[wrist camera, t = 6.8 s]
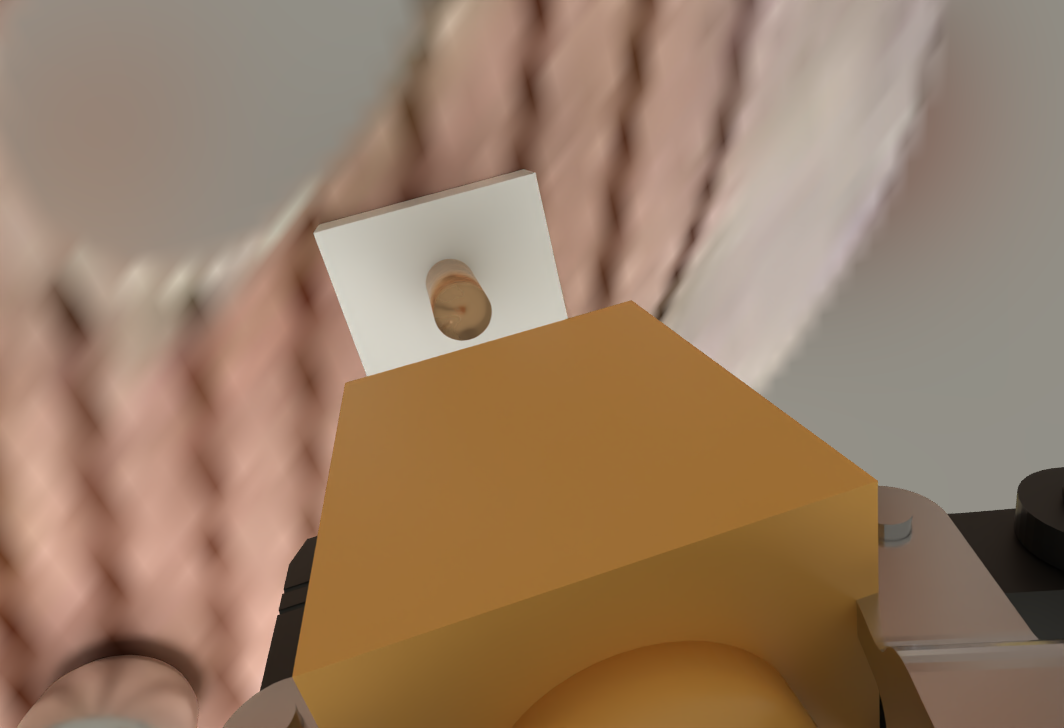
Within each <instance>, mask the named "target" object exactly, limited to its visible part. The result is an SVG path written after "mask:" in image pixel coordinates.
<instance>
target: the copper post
mask: <svg viewBox="0 0 1064 728" xmlns="http://www.w3.org/2000/svg"><path fill="white" fill-rule="evenodd" d="M426 289H427V292H428V296H429V300H430V304H431V308H432V312H433V315H434V319H435V322H436V325H437V327H438V328H439V330H440V331H441V332H442V333H443V334H444V335H446V336H447V337H449V338H451V339H454V340H460V341H464V340H470V339H473V338H475V337H477V336H479V335H480V334H482V333H483V332H484V331H485V330H486V328H487V327H488V325H489V323H490V320H491V316H492V308H491V304H490V301H489V299H488V297H487V296H486V294H485V292H484V291H483V289H482V287H481V286H480V284H479V282H478V281H477V279H476V277H475V276H474V274H473V272H472V271H471V269H470V268H469V267H468V266H467V265H466V264H465V263H463V262H462V261H459V260H456V259H445V260H442V261H439V262H438V263H436V264H435V265H434V266H433V267H432V268H431V269H430V270H429V272H428V274H427V277H426Z"/></svg>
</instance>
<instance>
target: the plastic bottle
mask: <svg viewBox="0 0 1064 728" xmlns="http://www.w3.org/2000/svg"><path fill="white" fill-rule="evenodd" d="M198 711H199V709H198V700H197V698H196V695H195V693H194V691H193V689H192V687H191V686H190V684H189V682H188V681H187V680H186V678H185V677H184V676H183V674H182V673H181V672H179V671H178V670H177V669H176V668H174V667H173V666H171V665H169V664H167V663H165V662H164V661H161V660H158V659H155V658H151V657H146V656H140V655H119V656H110V657H106V658H102V659H98V660H95V661H93V662H90V663H88V664H85V665H83V666H81V667H79V668H77V669H75V670H73V671H71V672H69V673H67V674H66V675H64V676H62V677H61V678H59V679H58V680H57V681H56V682H54V683H53V684H52V685H51V686H50V687H49V688H48V689H47V690H46V691H45V692H44V694H43V695H42V696H41V697H40V698H39V699H38V701H37V702H36V703H35V704H34V705H33V707H32V708H31V709H30V710H29V711H28V712H27V714H26V715H25V716H24V718H23V719H22V720H21V722H20V723H19V725H18V727H17V728H197V722H198Z"/></svg>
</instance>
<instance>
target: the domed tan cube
mask: <svg viewBox="0 0 1064 728" xmlns="http://www.w3.org/2000/svg"><path fill="white" fill-rule="evenodd" d="M878 592H879V583H878V481H877V480H876V479H874V478H873V477H872V476H870V475H869V474H868V473H866V472H865V471H863V470H862V469H861V468H859V467H858V466H857V465H855V464H854V463H853V462H851V461H850V460H848V459H847V458H846V457H844V456H843V455H842V454H840V453H839V452H837V451H836V450H835V449H834V448H832V447H831V446H829V445H828V444H827V443H825V442H824V441H823V440H821V439H820V438H819V437H817V436H816V435H814V434H813V433H812V432H810V431H809V430H808V429H806V428H805V427H803V426H802V425H801V424H799V423H798V422H797V421H795V420H794V419H793V418H791V417H790V416H789V415H787V414H786V413H784V412H783V411H782V410H780V409H779V408H778V407H776V406H775V405H774V404H772V403H771V402H769V401H768V400H767V399H765V398H764V397H763V396H761V395H760V394H759V393H757V392H756V391H754V390H753V389H752V388H750V387H749V386H748V385H746V384H745V383H744V382H742V381H741V380H739V379H738V378H737V377H735V376H734V375H733V374H731V373H730V372H729V371H727V370H726V369H724V368H723V367H722V366H720V365H719V364H718V363H716V362H715V361H713V360H712V359H711V358H709V357H708V356H707V355H705V354H704V353H703V352H701V351H700V350H698V349H697V348H696V347H694V346H693V345H692V344H690V343H689V342H688V341H686V340H685V339H683V338H682V337H681V336H679V335H678V334H677V333H675V332H674V331H673V330H671V329H670V328H668V327H667V326H666V325H664V324H663V323H662V322H660V321H659V320H658V319H656V318H655V317H653V316H652V315H651V314H649V313H648V312H647V311H645V310H644V309H643V308H641V307H640V306H638V305H637V304H636V303H634V302H633V301H632V300H631V301H627V302H624V303H620V304H617V305H613V306H610V307H607V308H603V309H600V310H596V311H593V312H589V313H586V314H582V315H579V316H575V317H572V318H568V319H565V320H561V321H558V322H555V323H551V324H548V325H544V326H541V327H537V328H534V329H530V330H527V331H523V332H520V333H516V334H513V335H509V336H506V337H503V338H499V339H496V340H492V341H489V342H485V343H482V344H478V345H475V346H471V347H468V348H464V349H461V350H457V351H454V352H451V353H447V354H444V355H440V356H437V357H433V358H430V359H426V360H423V361H419V362H416V363H412V364H409V365H405V366H402V367H399V368H395V369H392V370H388V371H385V372H381V373H378V374H374V375H371V376H367V377H364V378H360V379H357V380H353V381H350V382H347V383H345V387H344V393H343V398H342V404H341V409H340V415H339V421H338V426H337V432H336V437H335V443H334V448H333V454H332V459H331V465H330V470H329V476H328V481H327V487H326V492H325V498H324V504H323V509H322V515H321V520H320V526H319V531H318V537H317V542H316V548H315V553H314V559H313V564H312V570H311V575H310V581H309V587H308V592H307V598H306V603H305V609H304V614H303V620H302V625H301V631H300V636H299V642H298V647H297V653H296V658H295V664H294V670H293V675H292V678H293V680H294V682H295V684H296V686H297V688H298V690H299V691H300V693H301V695H302V697H303V699H304V701H305V703H306V705H307V707H308V709H309V710H310V712H311V714H312V716H313V718H314V720H315V722H316V724H317V726H318V728H880V711H879V690H878V686H877V683H876V680H875V678H874V675H873V673H872V670H871V668H870V665H869V663H868V660H867V658H866V656H865V653H864V651H863V648H862V646H861V643H860V641H859V638H858V636H857V603H856V600H858V599H861V598H864V597H867V596H870V595H872V594H875V593H878Z"/></svg>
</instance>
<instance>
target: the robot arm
mask: <svg viewBox="0 0 1064 728" xmlns="http://www.w3.org/2000/svg"><path fill="white" fill-rule="evenodd" d="M317 537H318V536H316V537H313V538H310V539H307V540H306V542H305V543H304V544H303V546H302V547H301V549H300V550H299V552H298V553H297V554H296V556H295V557H294V559H293V560H292V561H291V563H290V564H289V568H288V572H287V577H286V581H285V585H284V594H282V598H281V603H280V607H279V612H280V615H278V616H277V620H276V624H275V628H274V633H273V637H272V641H271V646H270V650H269V654H268V659H267V663H266V667H265V672H264V676H263V680H262V685H261V689H260V692H258V693H257V694H255V695H254V696H253V697H251V698H250V699H249V700H248V701H246V702H245V703H244V704H243V705H242V706H241V707H240V708H239V709H238V710H237V711H236V712H235V713H234V714H233V715H232V716H231V718H230V719H229V720H228V721H227V722H226V724H225V725H224V727H223V728H318V726H317V724H316V722H315V720H314V718H313V716H312V714H311V712H310V710H309V709H308V707H307V705H306V703H305V701H304V699H303V697H302V695H301V693H300V691H299V690H298V688H297V686H296V684H295V682H294V680H293V678H292V675H293V670H294V664H295V658H296V653H297V647H298V642H299V636H300V631H301V625H302V620H303V614H304V609H305V603H306V598H307V592H308V587H309V581H310V575H311V570H312V564H313V559H314V553H315V548H316V542H317ZM878 583H879V592H878V593H875V594H872V595H870V596H867V597H864V598H861V599H858V600H856V603H857V636H858V638H859V641H860V643H861V646H862V648H863V651H864V653H865V656H866V658H867V660H868V663H869V665H870V668H871V670H872V673H873V675H874V678H875V680H876V683H877V686H878V690H879V711H880V728H1064V467H1062V468H1052V469H1046V470H1042V471H1039V472H1036V473H1033V474H1031V475H1029V476H1027V477H1026V478H1025V479H1024V480H1022V481H1021V483H1020V485H1019V487H1018V491H1017V501H1016V509H1005V510H994V511H981V512H969V513H956V514H947V513H946V512H945V511H944V510H943V509H942V508H941V507H940V506H938V505H937V504H936V503H935V502H933V501H931V500H929V499H928V498H926V497H923V496H921V495H919V494H917V493H914V492H911V491H908V490H904V489H900V488H895V487H887V486H878Z"/></svg>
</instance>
